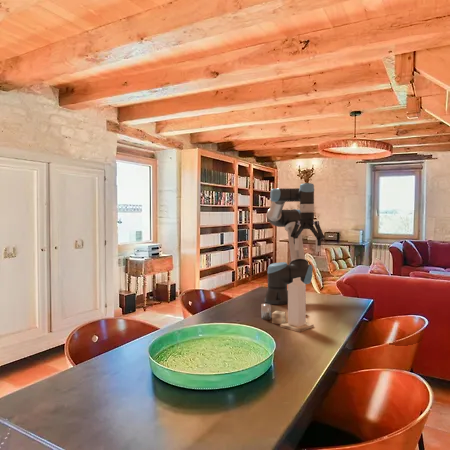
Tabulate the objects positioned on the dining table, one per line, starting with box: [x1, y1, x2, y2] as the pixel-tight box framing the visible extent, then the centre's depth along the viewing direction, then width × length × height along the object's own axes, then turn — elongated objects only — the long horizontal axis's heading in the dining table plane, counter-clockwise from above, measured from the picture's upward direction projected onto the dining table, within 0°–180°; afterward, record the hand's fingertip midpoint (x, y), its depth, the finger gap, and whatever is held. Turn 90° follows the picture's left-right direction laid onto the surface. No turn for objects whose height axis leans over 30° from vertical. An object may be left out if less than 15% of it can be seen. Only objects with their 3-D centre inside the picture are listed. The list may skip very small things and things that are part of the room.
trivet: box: [279, 321, 314, 333], centre depth 175 cm, size 11×11×1 cm
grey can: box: [260, 302, 272, 321], centre depth 190 cm, size 5×5×7 cm
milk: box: [287, 277, 307, 327], centre depth 175 cm, size 6×6×22 cm
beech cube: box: [271, 310, 287, 325], centre depth 182 cm, size 5×5×5 cm
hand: (306, 251), depth 202 cm, fingers open, 13 cm apart
